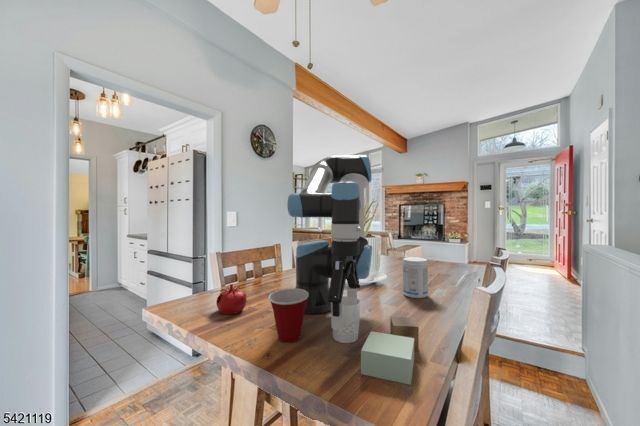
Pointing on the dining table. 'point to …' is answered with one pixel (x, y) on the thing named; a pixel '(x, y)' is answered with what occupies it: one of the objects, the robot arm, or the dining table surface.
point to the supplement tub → (415, 277)
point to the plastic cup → (289, 312)
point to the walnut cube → (405, 329)
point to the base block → (388, 357)
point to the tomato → (231, 300)
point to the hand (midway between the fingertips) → (345, 319)
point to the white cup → (348, 321)
